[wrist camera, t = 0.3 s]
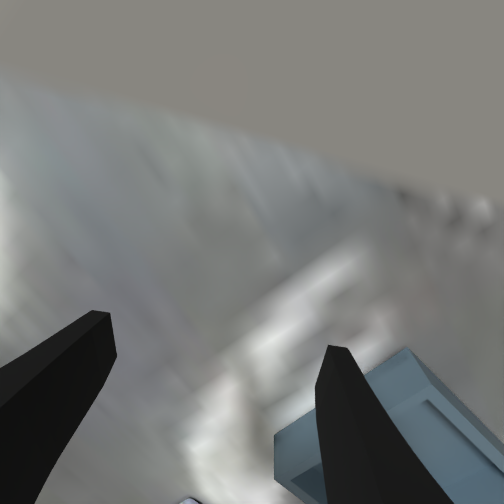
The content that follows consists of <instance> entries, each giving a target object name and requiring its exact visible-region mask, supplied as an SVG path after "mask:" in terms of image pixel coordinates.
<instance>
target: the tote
mask: <svg viewBox="0 0 504 504" xmlns="http://www.w3.org/2000/svg"><path fill="white" fill-rule="evenodd" d="M364 377H365V379H366V380H367V382H368V383H369V385H370V387H371V388H372V390H373V392H374V393H375V395H376V397H377V398H378V400H379V401H380V403H381V404H382V406H383V407H384V409H385V410H386V412H387V414H388V415H389V417H390V418H391V420H392V421H393V423H394V424H395V426H396V427H397V429H398V430H399V431H400V433H401V434H402V436H403V437H404V439H405V440H406V441H407V443H408V444H409V446H410V447H411V448H412V450H413V451H414V453H415V454H416V455H417V457H418V458H419V459H420V461H421V462H422V463H423V465H424V466H425V467H426V469H427V470H428V471H429V472H430V474H431V475H432V476H433V478H434V479H435V480H436V481H437V483H438V484H439V485H440V486H441V488H442V489H443V490H444V491H445V493H446V494H447V495H448V496H449V498H450V499H451V500H452V501H453V502H454V504H504V444H503V443H502V442H501V441H500V440H499V439H498V438H497V437H496V436H495V435H494V434H493V433H492V432H491V431H490V430H489V429H488V428H487V427H486V426H485V425H484V424H483V423H482V422H481V421H480V420H479V419H478V418H477V417H476V416H475V415H474V414H473V413H472V412H471V411H470V410H469V409H468V408H467V407H466V406H465V405H464V404H463V403H462V402H461V401H460V400H459V399H458V398H457V397H456V396H455V395H454V394H453V393H452V392H451V391H450V390H449V389H448V388H447V387H446V386H445V385H444V384H443V383H442V382H441V381H440V380H439V379H438V378H437V377H436V376H435V375H434V374H433V373H432V371H431V370H430V369H429V368H428V367H427V366H426V365H425V364H424V363H423V362H422V361H421V360H420V359H419V358H418V357H417V356H416V355H415V354H414V353H413V352H412V351H411V350H410V349H409V348H408V347H406V348H405V349H403V350H402V351H400V352H399V353H397V354H396V355H394V356H393V357H391V358H390V359H388V360H387V361H385V362H384V363H382V364H381V365H379V366H378V367H376V368H375V369H373V370H372V371H370V372H369V373H367V374H366V375H364ZM274 480H276V481H277V482H278V483H280V484H281V485H282V486H283V487H285V488H286V489H287V490H289V491H290V492H291V493H293V494H294V495H295V496H297V497H298V498H299V499H301V500H302V501H303V502H304V503H306V504H327V496H326V489H325V482H324V475H323V468H322V460H321V453H320V446H319V439H318V431H317V424H316V408H314V409H313V410H311V411H310V412H308V413H307V414H305V415H304V416H302V417H301V418H299V419H298V420H296V421H295V422H293V423H292V424H290V425H289V426H287V427H286V428H284V429H283V430H281V431H280V432H278V433H277V434H275V435H274Z"/></svg>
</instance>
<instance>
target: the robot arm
mask: <svg viewBox="0 0 504 504" xmlns="http://www.w3.org/2000/svg"><path fill="white" fill-rule="evenodd" d="M116 358H117V353H116V347H115V341H114V334H113V328H112V322H111V316H110V313H108V312H101V311H95V310H92V311H90V312H88V313H87V314H85V315H83V316H82V317H80V318H79V319H77V320H76V321H74V322H73V323H71V324H70V325H68V326H67V327H65V328H63V329H62V330H60V331H59V332H57V333H56V334H54V335H53V336H51V337H50V338H48V339H47V340H45V341H43V342H42V343H40V344H39V345H37V346H36V347H34V348H32V349H31V350H29V351H28V352H26V353H25V354H23V355H21V356H20V357H18V358H16V359H15V360H13V361H11V362H10V363H8V364H6V365H5V366H3V367H1V368H0V504H34V503H35V501H36V499H37V497H38V495H39V493H40V492H41V490H42V488H43V486H44V484H45V482H46V480H47V478H48V476H49V474H50V472H51V471H52V469H53V467H54V465H55V464H56V462H57V460H58V458H59V457H60V455H61V453H62V452H63V450H64V449H65V447H66V445H67V444H68V442H69V441H70V439H71V437H72V436H73V434H74V433H75V431H76V429H77V428H78V426H79V425H80V423H81V421H82V420H83V418H84V417H85V415H86V413H87V412H88V410H89V409H90V407H91V405H92V404H93V402H94V400H95V399H96V397H97V396H98V394H99V392H100V391H101V389H102V387H103V385H104V383H105V381H106V379H107V377H108V375H109V373H110V371H111V369H112V366H113V364H114V362H115V360H116ZM315 408H316V424H317V431H318V439H319V446H320V453H321V460H322V468H323V475H324V482H325V489H326V496H327V504H454V502H453V501H452V500H451V499H450V498H449V496H448V495H447V494H446V493H445V491H444V490H443V489H442V488H441V486H440V485H439V484H438V483H437V481H436V480H435V479H434V478H433V476H432V475H431V474H430V472H429V471H428V470H427V469H426V467H425V466H424V465H423V463H422V462H421V461H420V459H419V458H418V457H417V455H416V454H415V453H414V451H413V450H412V448H411V447H410V446H409V444H408V443H407V441H406V440H405V439H404V437H403V436H402V434H401V433H400V431H399V430H398V429H397V427H396V426H395V424H394V423H393V421H392V420H391V418H390V417H389V415H388V414H387V412H386V410H385V409H384V407H383V406H382V404H381V403H380V401H379V400H378V398H377V397H376V395H375V393H374V392H373V390H372V388H371V387H370V385H369V383H368V382H367V380H366V379H365V377H364V375H363V373H362V372H361V370H360V368H359V367H358V365H357V363H356V361H355V360H354V358H353V356H352V354H351V353H350V351H349V350H348V348H345V347H339V346H332V345H328V347H327V350H326V353H325V356H324V360H323V363H322V366H321V369H320V372H319V375H318V378H317V382H316V385H315ZM180 504H199V503H198V502H196V501H195V500H193V499H190V498H188V499H186V500H184V501H183V502H181V503H180Z"/></svg>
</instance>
